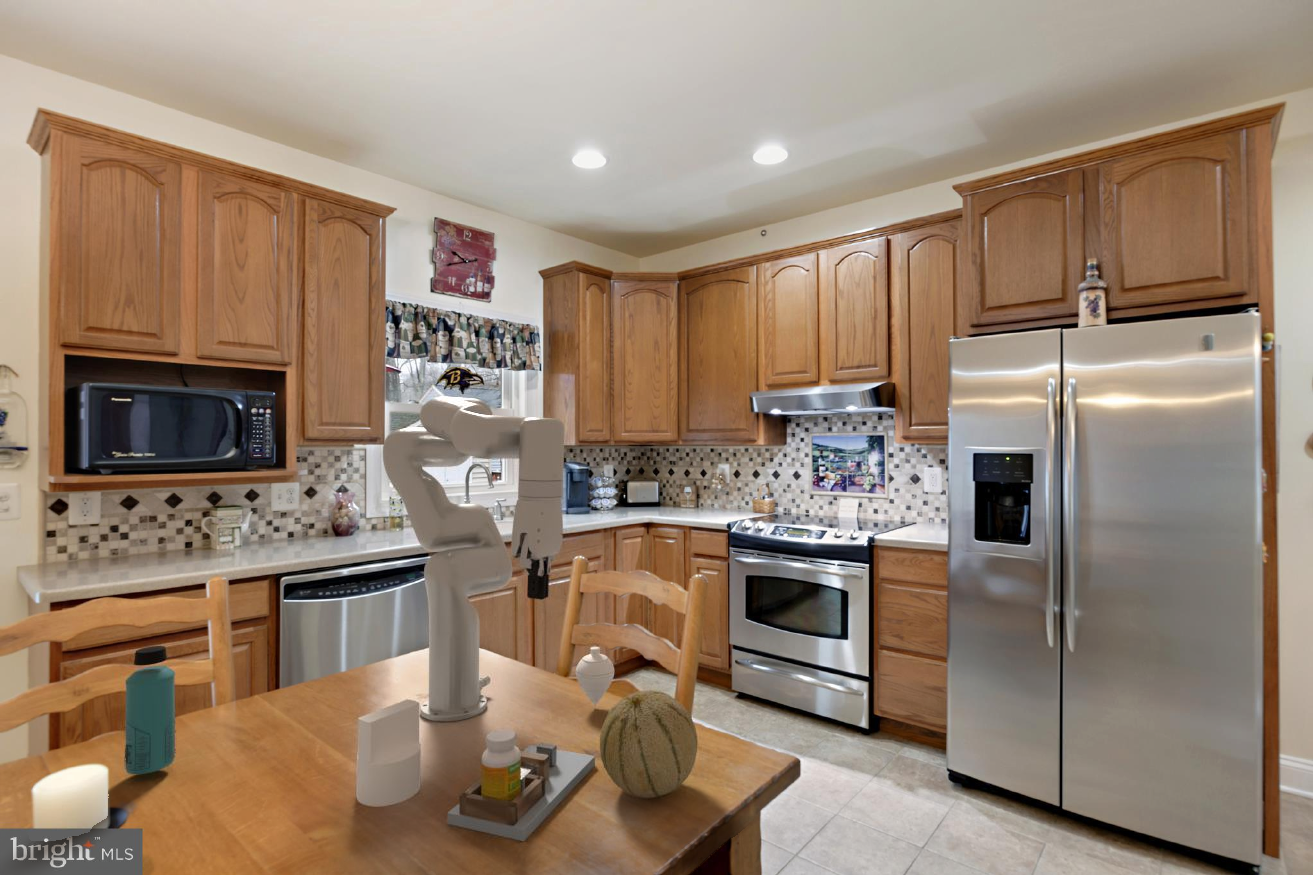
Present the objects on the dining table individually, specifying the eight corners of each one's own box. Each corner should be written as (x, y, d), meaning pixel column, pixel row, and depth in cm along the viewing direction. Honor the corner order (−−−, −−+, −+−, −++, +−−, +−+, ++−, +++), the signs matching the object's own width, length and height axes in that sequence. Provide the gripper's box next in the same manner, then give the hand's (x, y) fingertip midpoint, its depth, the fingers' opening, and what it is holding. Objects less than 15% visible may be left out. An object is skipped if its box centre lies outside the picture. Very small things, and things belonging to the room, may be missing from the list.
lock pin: (540, 759, 105) (540, 742, 105) (556, 762, 104) (556, 744, 104) (505, 791, 95) (505, 771, 95) (522, 794, 94) (522, 774, 94)
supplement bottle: (512, 816, 89) (512, 744, 89) (474, 813, 90) (475, 742, 90) (526, 796, 94) (526, 728, 94) (490, 793, 95) (490, 725, 95)
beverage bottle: (185, 768, 106) (187, 643, 106) (141, 788, 99) (143, 655, 100) (157, 762, 108) (159, 639, 108) (112, 781, 101) (114, 651, 102)
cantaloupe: (711, 778, 102) (711, 682, 103) (675, 828, 89) (675, 716, 89) (626, 760, 108) (626, 669, 109) (581, 804, 95) (581, 699, 95)
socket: (494, 784, 98) (494, 767, 98) (545, 794, 95) (545, 776, 95) (459, 814, 90) (459, 795, 90) (513, 826, 87) (513, 807, 87)
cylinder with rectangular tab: (381, 813, 93) (382, 727, 93) (343, 795, 97) (344, 714, 98) (433, 785, 100) (433, 706, 101) (395, 770, 105) (396, 695, 105)
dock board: (530, 753, 111) (530, 724, 111) (594, 765, 107) (595, 734, 107) (447, 823, 90) (447, 787, 90) (523, 841, 86) (523, 803, 86)
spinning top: (568, 712, 128) (568, 650, 128) (587, 698, 135) (587, 640, 135) (603, 718, 125) (603, 655, 125) (620, 704, 132) (620, 644, 133)
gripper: (542, 486, 120) (540, 586, 120) (497, 492, 106) (494, 605, 106) (579, 488, 117) (577, 590, 117) (538, 495, 103) (534, 611, 103)
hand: (537, 597), depth 112 cm, fingers closed
